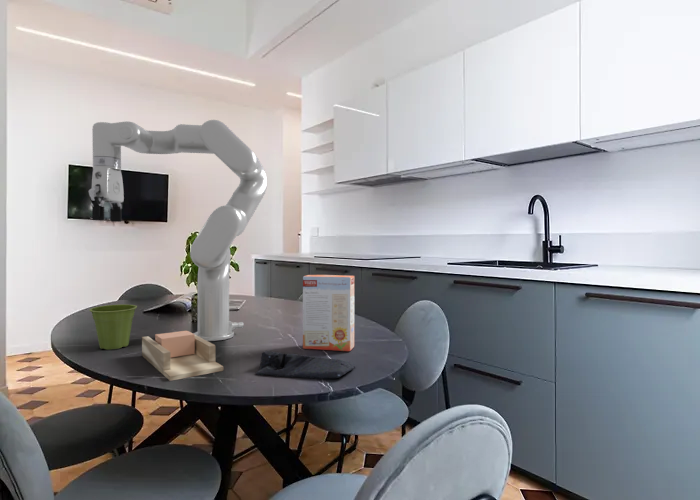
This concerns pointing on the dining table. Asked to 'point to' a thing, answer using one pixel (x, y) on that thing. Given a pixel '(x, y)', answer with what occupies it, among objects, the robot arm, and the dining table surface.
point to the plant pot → (113, 325)
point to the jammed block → (177, 342)
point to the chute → (181, 359)
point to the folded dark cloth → (302, 366)
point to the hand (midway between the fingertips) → (107, 220)
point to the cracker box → (328, 312)
